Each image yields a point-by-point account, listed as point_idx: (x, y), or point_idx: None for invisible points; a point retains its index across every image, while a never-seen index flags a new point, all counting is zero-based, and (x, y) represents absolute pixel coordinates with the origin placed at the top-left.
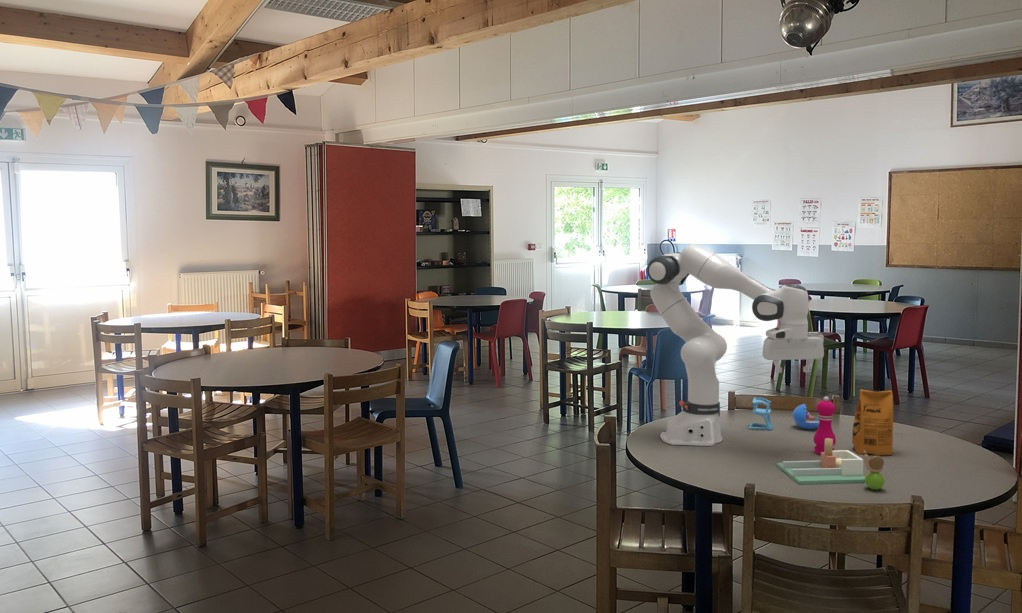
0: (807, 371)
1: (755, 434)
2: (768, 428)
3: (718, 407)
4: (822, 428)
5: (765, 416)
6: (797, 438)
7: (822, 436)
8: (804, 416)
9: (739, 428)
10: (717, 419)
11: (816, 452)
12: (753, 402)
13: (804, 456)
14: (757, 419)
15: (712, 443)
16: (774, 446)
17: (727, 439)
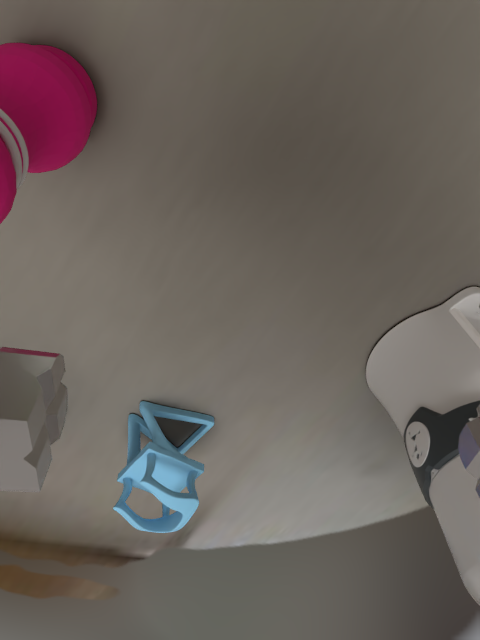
0: (6, 350)
1: (222, 372)
2: (151, 407)
3: (461, 430)
4: (28, 105)
5: (161, 441)
6: (89, 308)
7: (48, 77)
8: None
9: (239, 430)
10: (441, 388)
11: (95, 93)
12: (196, 502)
13: (178, 59)
14: None
15: (467, 294)
16: (234, 235)
17: (355, 343)
